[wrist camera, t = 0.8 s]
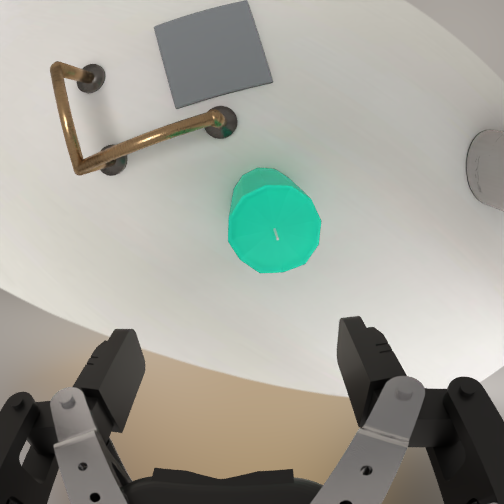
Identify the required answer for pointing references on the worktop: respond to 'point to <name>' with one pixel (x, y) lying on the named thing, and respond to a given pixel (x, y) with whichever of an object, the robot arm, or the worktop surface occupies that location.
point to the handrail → (115, 156)
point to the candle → (272, 222)
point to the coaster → (212, 53)
